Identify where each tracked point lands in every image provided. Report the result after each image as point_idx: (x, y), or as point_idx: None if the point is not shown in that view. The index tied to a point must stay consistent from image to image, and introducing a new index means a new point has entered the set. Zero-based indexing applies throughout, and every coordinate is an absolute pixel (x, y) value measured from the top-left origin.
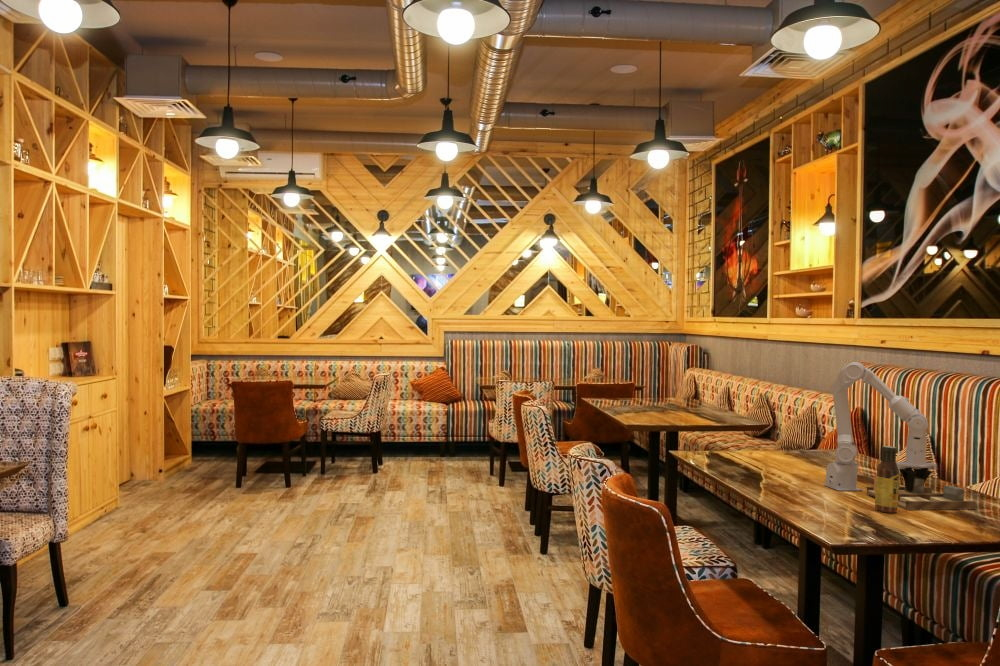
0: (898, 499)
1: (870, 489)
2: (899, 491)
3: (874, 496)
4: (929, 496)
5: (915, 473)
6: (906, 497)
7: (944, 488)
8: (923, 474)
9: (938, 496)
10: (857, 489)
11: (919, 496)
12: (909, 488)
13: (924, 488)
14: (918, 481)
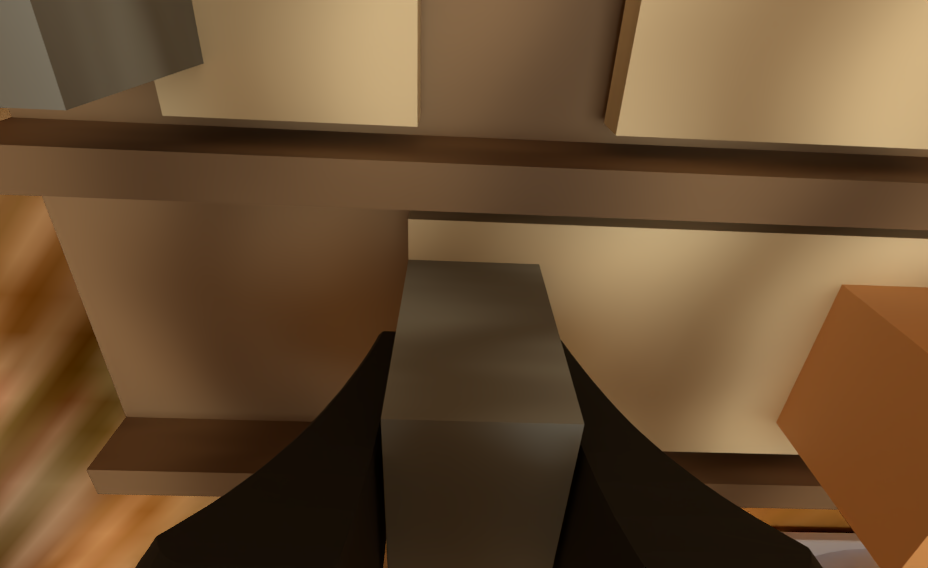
0: (905, 160)
1: None
2: (619, 397)
3: None
4: (401, 151)
5: (661, 550)
6: (879, 111)
7: (98, 67)
8: (356, 542)
9: (235, 145)
10: (821, 540)
11: (579, 160)
12: None
13: (198, 462)
14: (523, 390)
